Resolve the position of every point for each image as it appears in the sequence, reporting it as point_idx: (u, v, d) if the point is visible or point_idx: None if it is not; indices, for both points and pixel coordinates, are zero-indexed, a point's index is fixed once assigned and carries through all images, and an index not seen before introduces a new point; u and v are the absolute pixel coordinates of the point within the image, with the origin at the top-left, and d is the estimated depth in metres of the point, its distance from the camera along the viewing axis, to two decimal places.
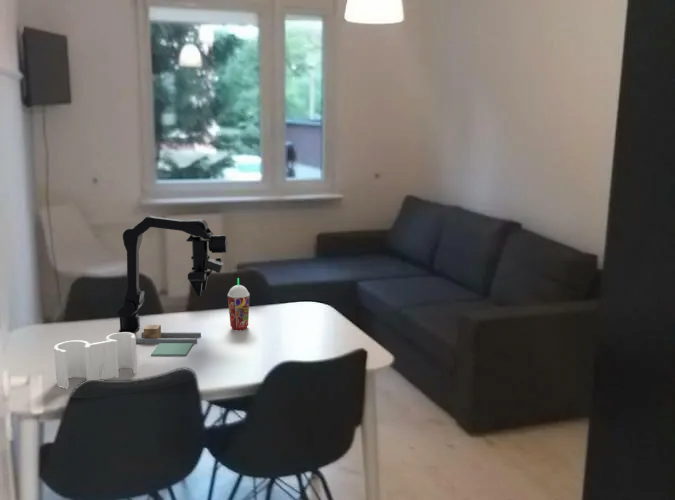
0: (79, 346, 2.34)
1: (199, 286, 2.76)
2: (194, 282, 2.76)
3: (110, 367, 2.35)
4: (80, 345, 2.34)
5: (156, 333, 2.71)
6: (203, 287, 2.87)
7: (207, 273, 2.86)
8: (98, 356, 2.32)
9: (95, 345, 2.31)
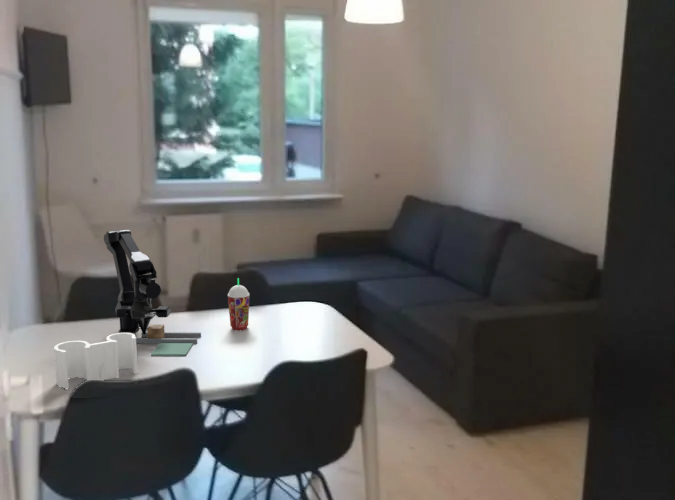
0: (79, 346, 2.34)
1: None
2: None
3: (110, 368, 2.35)
4: (80, 345, 2.34)
5: (160, 333, 2.71)
6: None
7: None
8: (98, 357, 2.32)
9: (95, 345, 2.31)
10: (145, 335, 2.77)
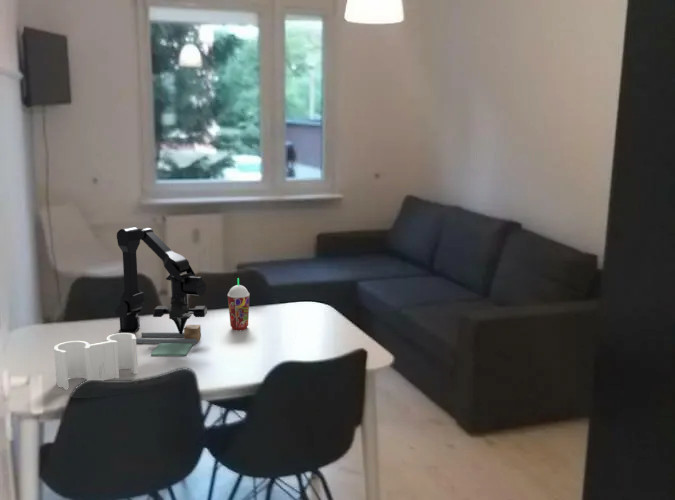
0: (79, 347, 2.34)
1: None
2: None
3: (110, 368, 2.34)
4: (80, 346, 2.34)
5: (196, 333, 2.71)
6: None
7: (181, 318, 2.71)
8: (98, 357, 2.32)
9: (95, 346, 2.30)
10: (145, 335, 2.77)
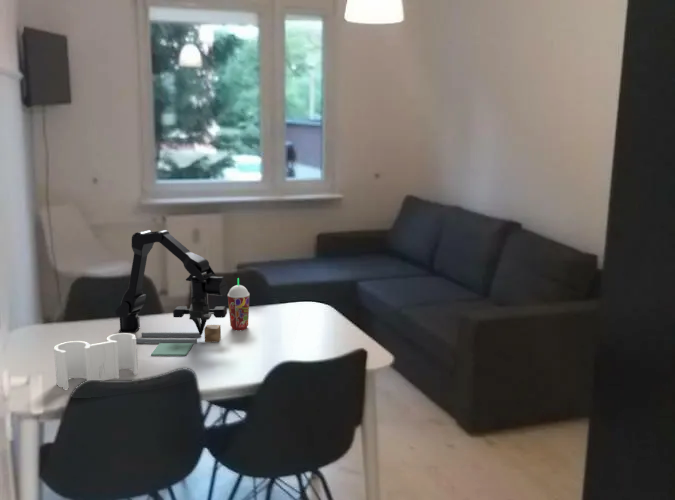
0: (79, 347, 2.34)
1: None
2: None
3: (110, 368, 2.34)
4: (80, 346, 2.33)
5: (217, 333, 2.71)
6: None
7: (201, 318, 2.71)
8: (98, 357, 2.31)
9: (95, 346, 2.30)
10: (145, 335, 2.77)
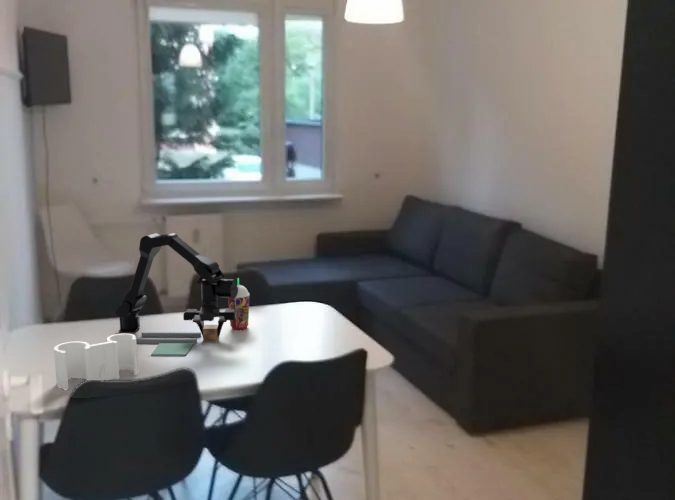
0: (79, 347, 2.33)
1: None
2: None
3: (110, 368, 2.34)
4: (80, 346, 2.33)
5: (215, 333, 2.71)
6: None
7: (218, 321, 2.71)
8: (98, 358, 2.31)
9: (95, 346, 2.30)
10: (145, 335, 2.77)
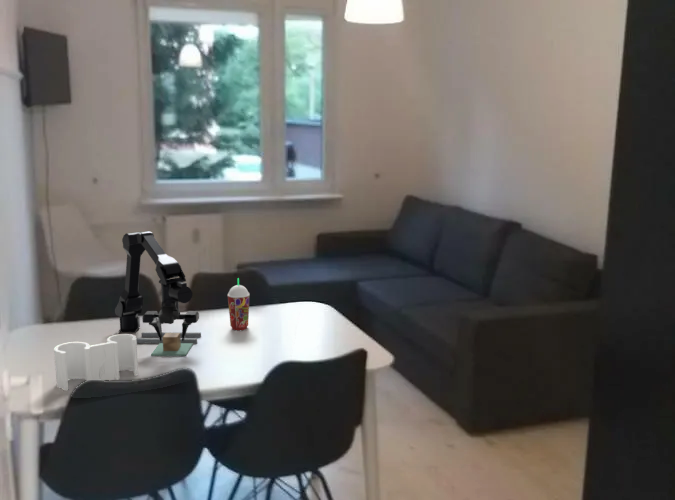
0: (80, 348, 2.33)
1: None
2: None
3: (110, 369, 2.33)
4: (81, 347, 2.33)
5: (176, 341, 2.59)
6: None
7: None
8: (98, 358, 2.30)
9: (95, 347, 2.29)
10: (145, 335, 2.77)
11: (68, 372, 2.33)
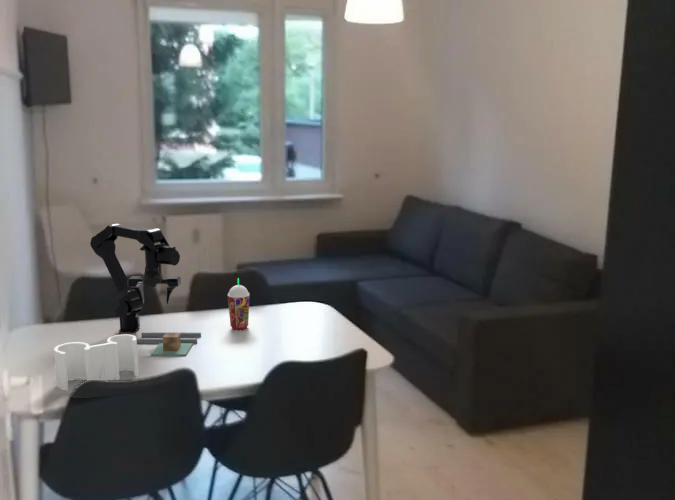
0: (80, 348, 2.33)
1: None
2: None
3: (110, 370, 2.33)
4: (81, 347, 2.32)
5: (176, 341, 2.59)
6: None
7: (167, 287, 2.75)
8: (98, 359, 2.30)
9: (95, 347, 2.29)
10: (145, 335, 2.77)
11: (68, 372, 2.33)
